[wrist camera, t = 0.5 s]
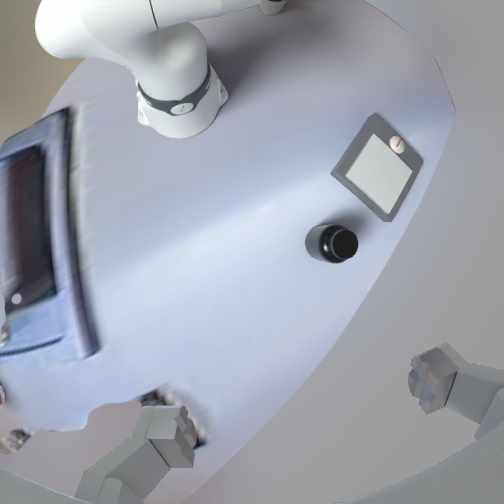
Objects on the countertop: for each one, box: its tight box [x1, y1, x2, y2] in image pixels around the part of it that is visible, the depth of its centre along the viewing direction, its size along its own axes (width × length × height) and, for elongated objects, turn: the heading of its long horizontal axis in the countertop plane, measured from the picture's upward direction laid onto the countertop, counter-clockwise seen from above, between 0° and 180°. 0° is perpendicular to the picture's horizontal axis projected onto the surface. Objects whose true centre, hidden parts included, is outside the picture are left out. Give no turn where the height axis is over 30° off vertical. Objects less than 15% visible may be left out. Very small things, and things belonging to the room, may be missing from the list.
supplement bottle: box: [305, 224, 358, 263], centre depth 49 cm, size 7×7×12 cm
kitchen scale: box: [330, 113, 424, 222], centre depth 53 cm, size 16×18×4 cm
